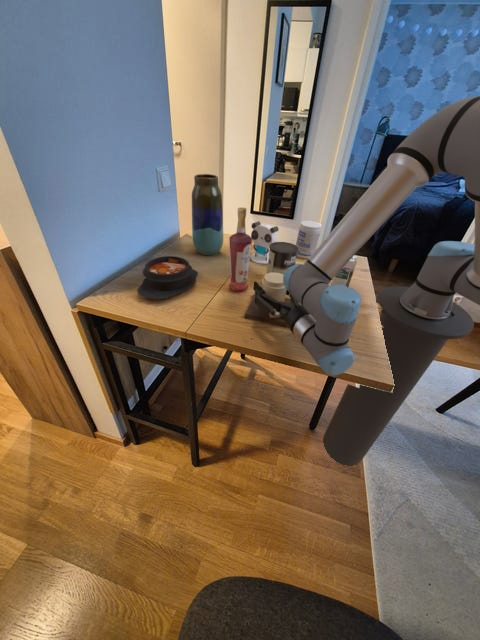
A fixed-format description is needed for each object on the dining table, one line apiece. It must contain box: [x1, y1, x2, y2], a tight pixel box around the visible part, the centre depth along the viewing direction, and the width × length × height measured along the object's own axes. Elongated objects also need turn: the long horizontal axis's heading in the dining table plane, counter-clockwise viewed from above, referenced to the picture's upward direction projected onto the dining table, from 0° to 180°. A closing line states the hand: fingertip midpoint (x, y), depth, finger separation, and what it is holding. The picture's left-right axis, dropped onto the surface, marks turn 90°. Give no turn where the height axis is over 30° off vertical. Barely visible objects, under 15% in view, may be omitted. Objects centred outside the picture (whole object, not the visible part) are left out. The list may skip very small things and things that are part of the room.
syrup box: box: [330, 255, 358, 288], centre depth 91 cm, size 6×6×14 cm
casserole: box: [136, 255, 199, 300], centre depth 92 cm, size 25×19×8 cm
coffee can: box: [266, 241, 298, 275], centre depth 97 cm, size 10×10×14 cm
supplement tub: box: [295, 220, 323, 260], centre depth 118 cm, size 10×10×15 cm
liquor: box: [228, 207, 253, 293], centre depth 87 cm, size 7×7×28 cm
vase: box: [191, 173, 225, 256], centre depth 111 cm, size 14×14×31 cm
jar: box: [260, 272, 287, 310], centre depth 81 cm, size 8×8×10 cm
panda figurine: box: [250, 221, 279, 265], centre depth 113 cm, size 12×11×15 cm
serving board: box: [244, 294, 291, 328], centre depth 85 cm, size 14×14×2 cm
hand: (267, 283), depth 84 cm, fingers open, 8 cm apart
